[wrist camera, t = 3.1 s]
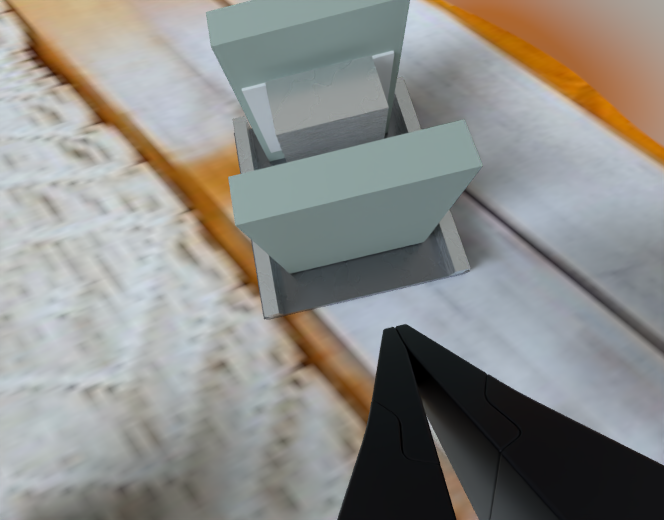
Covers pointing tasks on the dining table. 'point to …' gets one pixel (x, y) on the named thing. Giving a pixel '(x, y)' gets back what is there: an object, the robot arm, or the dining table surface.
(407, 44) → the dining table surface
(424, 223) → the bar
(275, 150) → the fixed jaw
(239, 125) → the vise base
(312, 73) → the steel block
